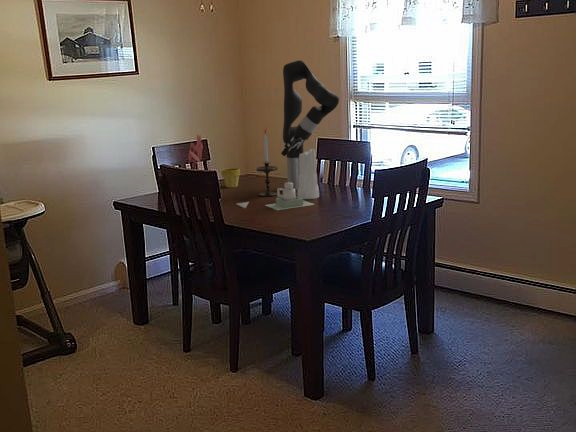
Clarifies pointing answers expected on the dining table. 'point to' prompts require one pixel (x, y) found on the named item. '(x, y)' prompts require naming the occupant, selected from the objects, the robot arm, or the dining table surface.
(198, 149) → the figurine
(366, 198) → the dining table surface
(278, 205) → the tray
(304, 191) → the decorative vase
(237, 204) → the grey mat
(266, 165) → the candlestick
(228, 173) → the plant pot
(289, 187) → the cream jug
